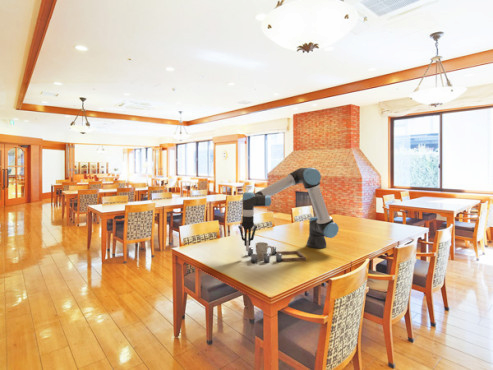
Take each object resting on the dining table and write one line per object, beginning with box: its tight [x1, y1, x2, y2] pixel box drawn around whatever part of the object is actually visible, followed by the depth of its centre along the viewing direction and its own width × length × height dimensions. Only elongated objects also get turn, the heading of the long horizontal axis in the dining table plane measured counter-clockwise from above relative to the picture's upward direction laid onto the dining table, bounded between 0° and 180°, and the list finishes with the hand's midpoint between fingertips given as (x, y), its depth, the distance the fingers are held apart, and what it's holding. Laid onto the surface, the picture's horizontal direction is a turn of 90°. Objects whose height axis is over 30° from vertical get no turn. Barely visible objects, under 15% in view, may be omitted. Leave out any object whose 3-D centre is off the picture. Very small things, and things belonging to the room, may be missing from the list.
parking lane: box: [276, 250, 307, 262], centre depth 189 cm, size 16×16×2 cm
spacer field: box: [247, 246, 283, 264], centre depth 186 cm, size 20×19×5 cm
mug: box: [255, 241, 273, 261], centre depth 186 cm, size 8×13×10 cm, turn 111°
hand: (247, 250), depth 184 cm, fingers closed
